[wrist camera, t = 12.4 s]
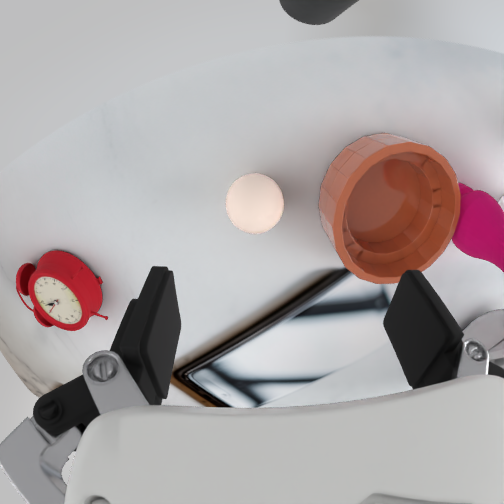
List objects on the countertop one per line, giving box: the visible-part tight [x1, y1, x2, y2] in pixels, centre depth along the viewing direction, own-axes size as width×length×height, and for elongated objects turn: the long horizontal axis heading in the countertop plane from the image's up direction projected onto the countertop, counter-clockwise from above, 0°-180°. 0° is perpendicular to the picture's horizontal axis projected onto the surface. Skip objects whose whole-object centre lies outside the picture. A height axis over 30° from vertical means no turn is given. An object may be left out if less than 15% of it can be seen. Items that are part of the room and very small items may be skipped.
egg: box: [226, 173, 284, 234], centre depth 23 cm, size 5×5×7 cm
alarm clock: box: [16, 251, 108, 331], centre depth 29 cm, size 10×6×15 cm
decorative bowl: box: [461, 309, 504, 369], centre depth 35 cm, size 30×30×15 cm
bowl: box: [318, 133, 461, 284], centre depth 24 cm, size 14×14×6 cm
